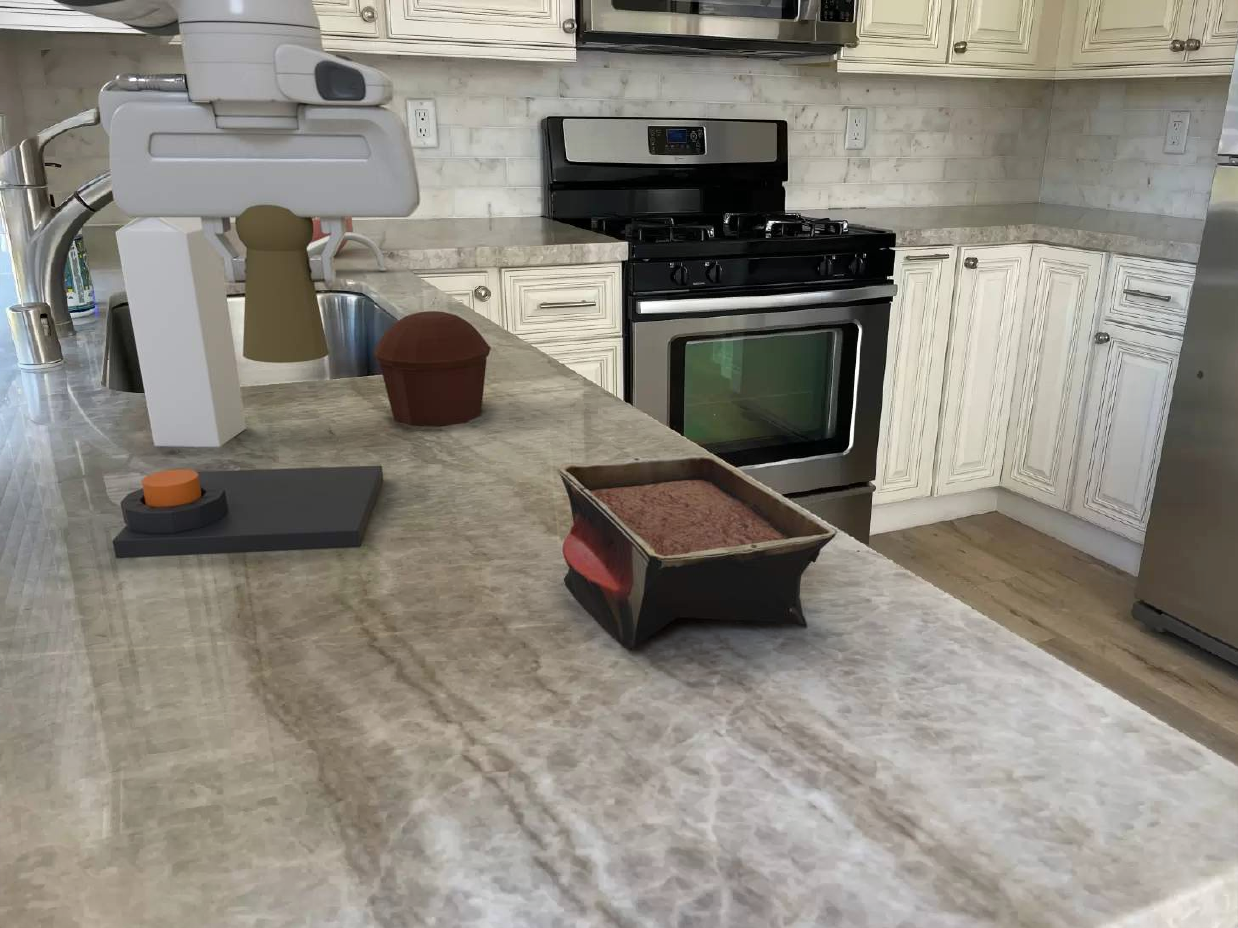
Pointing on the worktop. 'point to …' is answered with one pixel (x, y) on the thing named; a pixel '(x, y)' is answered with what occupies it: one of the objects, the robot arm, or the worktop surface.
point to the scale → (255, 513)
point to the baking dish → (683, 545)
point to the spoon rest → (319, 245)
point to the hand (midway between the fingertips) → (283, 282)
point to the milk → (181, 331)
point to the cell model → (319, 234)
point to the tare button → (171, 487)
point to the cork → (279, 287)
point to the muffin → (433, 368)
